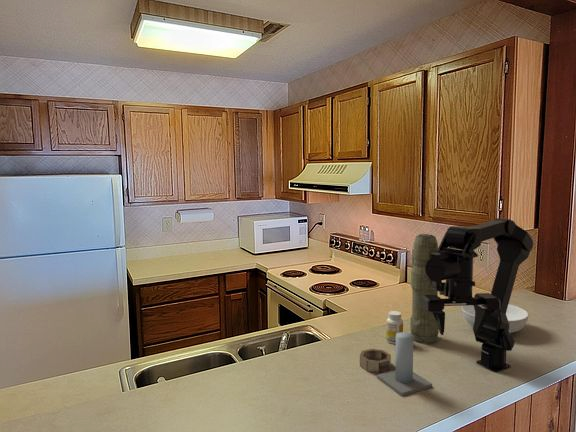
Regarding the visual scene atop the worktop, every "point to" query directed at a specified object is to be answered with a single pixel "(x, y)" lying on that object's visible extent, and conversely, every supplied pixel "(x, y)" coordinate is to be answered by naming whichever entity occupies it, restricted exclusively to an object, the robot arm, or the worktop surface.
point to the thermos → (422, 290)
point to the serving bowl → (514, 315)
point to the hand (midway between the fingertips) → (459, 334)
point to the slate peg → (404, 358)
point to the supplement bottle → (393, 326)
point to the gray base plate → (403, 388)
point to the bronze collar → (375, 366)
